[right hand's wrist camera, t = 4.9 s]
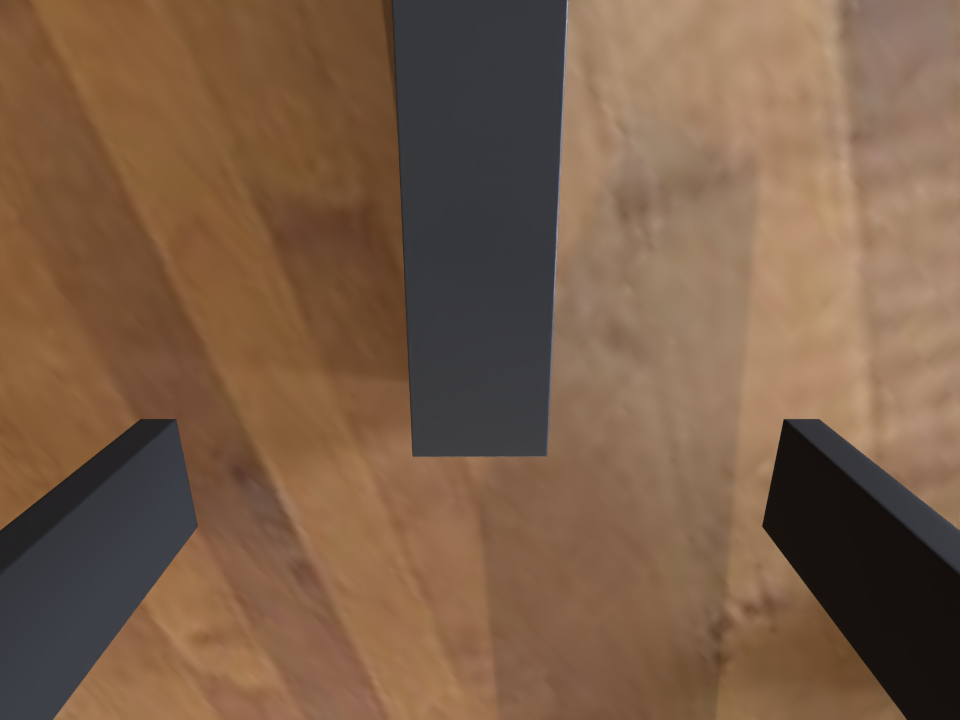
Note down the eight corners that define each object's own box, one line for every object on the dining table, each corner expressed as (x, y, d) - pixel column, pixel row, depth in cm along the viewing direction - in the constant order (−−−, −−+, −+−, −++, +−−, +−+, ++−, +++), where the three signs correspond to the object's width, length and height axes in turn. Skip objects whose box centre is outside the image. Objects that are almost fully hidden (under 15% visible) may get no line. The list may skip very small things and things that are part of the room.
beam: (398, -524, 18) (349, -929, 11) (561, -523, 18) (611, -929, 11) (428, 384, 28) (412, 457, 21) (531, 384, 28) (547, 457, 21)
